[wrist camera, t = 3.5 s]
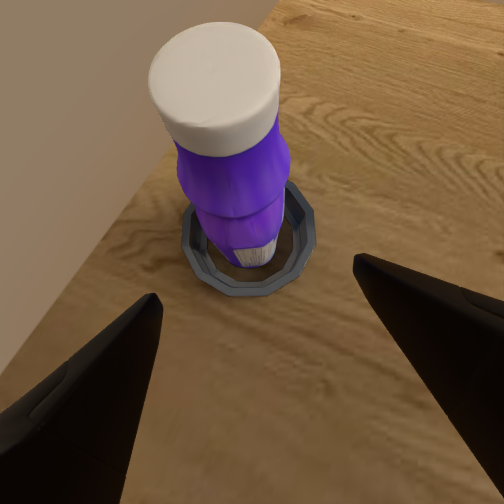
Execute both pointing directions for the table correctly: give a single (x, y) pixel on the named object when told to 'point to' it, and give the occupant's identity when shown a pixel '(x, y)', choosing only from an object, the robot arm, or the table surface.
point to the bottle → (226, 134)
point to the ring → (303, 245)
